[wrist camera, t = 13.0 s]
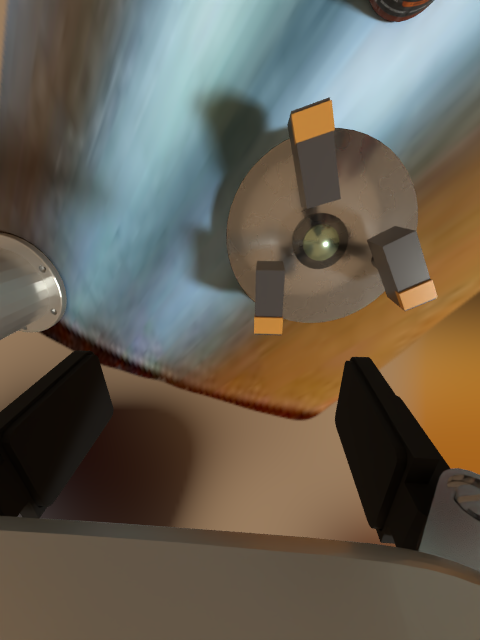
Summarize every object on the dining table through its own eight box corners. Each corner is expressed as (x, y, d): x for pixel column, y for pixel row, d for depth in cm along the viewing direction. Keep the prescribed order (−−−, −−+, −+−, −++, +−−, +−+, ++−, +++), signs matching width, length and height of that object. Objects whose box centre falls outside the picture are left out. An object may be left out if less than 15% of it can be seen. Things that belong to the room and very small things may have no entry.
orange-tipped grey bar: (325, 198, 24) (342, 198, 18) (298, 206, 24) (306, 209, 19) (315, 120, 21) (331, 96, 16) (285, 131, 22) (290, 110, 17)
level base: (268, 335, 33) (268, 352, 29) (198, 192, 26) (188, 192, 23) (422, 279, 28) (445, 290, 24) (382, 88, 22) (405, 67, 18)
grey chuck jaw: (257, 256, 26) (255, 270, 21) (282, 256, 26) (285, 271, 21) (256, 310, 29) (254, 335, 24) (279, 311, 29) (281, 336, 24)
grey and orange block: (358, 237, 25) (382, 247, 20) (385, 223, 24) (418, 230, 19) (378, 290, 27) (405, 312, 22) (404, 278, 26) (438, 299, 21)
